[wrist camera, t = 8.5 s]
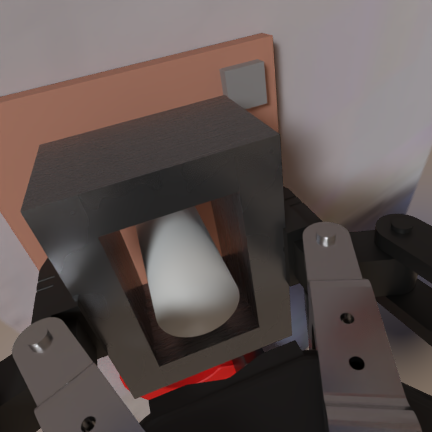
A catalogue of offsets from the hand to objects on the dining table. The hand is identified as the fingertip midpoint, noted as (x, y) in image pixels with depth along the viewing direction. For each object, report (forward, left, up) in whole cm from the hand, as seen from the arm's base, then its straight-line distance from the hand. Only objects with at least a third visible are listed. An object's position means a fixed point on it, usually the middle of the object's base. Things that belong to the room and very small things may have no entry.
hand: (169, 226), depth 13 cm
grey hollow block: (0, 0, -1) cm, 1 cm away
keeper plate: (0, 0, -4) cm, 4 cm away
